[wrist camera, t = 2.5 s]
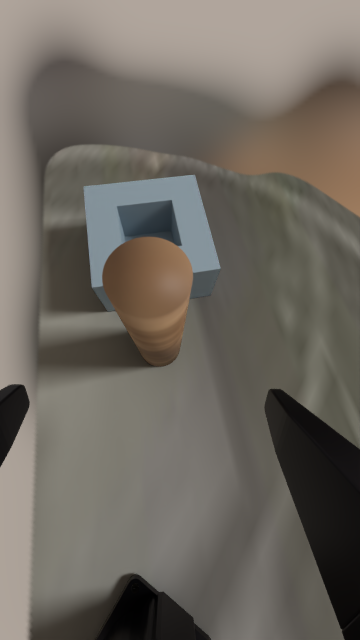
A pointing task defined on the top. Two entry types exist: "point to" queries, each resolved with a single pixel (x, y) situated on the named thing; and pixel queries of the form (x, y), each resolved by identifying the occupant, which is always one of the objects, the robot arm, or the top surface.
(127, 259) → the walnut peg
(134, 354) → the top surface
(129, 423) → the top surface
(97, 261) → the hole block
